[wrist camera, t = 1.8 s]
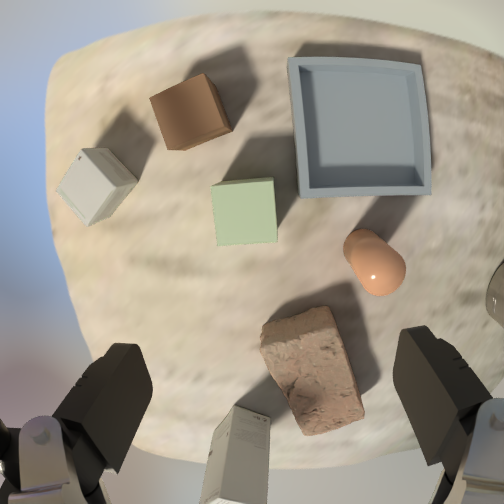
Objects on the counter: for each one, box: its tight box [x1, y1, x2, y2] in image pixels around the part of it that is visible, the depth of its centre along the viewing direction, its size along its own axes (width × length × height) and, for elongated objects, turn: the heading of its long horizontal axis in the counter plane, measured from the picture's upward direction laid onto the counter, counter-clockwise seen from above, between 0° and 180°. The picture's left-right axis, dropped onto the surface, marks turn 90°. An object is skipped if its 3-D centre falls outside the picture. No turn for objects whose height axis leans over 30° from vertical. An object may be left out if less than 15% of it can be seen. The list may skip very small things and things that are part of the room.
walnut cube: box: [149, 73, 233, 151], centre depth 24 cm, size 5×5×5 cm
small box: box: [56, 148, 138, 227], centre depth 27 cm, size 6×6×5 cm
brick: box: [260, 306, 365, 436], centre depth 32 cm, size 17×8×5 cm, turn 24°
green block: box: [210, 177, 278, 246], centre depth 27 cm, size 5×5×5 cm
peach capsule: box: [343, 229, 406, 296], centre depth 26 cm, size 4×4×7 cm
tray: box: [287, 57, 431, 199], centre depth 24 cm, size 13×13×3 cm
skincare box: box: [199, 405, 271, 504], centre depth 31 cm, size 8×6×15 cm
